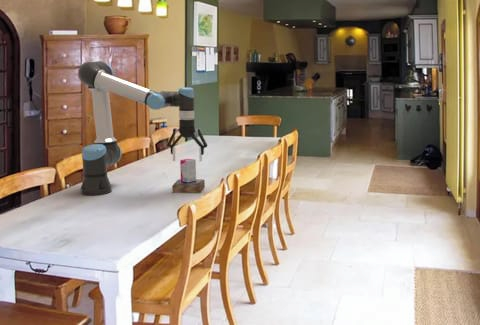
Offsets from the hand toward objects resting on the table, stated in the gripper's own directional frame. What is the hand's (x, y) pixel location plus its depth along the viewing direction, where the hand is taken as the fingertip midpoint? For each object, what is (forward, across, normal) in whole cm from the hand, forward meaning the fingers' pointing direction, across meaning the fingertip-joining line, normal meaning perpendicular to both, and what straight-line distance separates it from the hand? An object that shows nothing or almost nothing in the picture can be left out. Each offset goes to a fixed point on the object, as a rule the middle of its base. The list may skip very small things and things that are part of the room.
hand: (187, 160), depth 290 cm
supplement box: (+11, 0, 0) cm, 11 cm away
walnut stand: (+15, +1, 0) cm, 15 cm away
